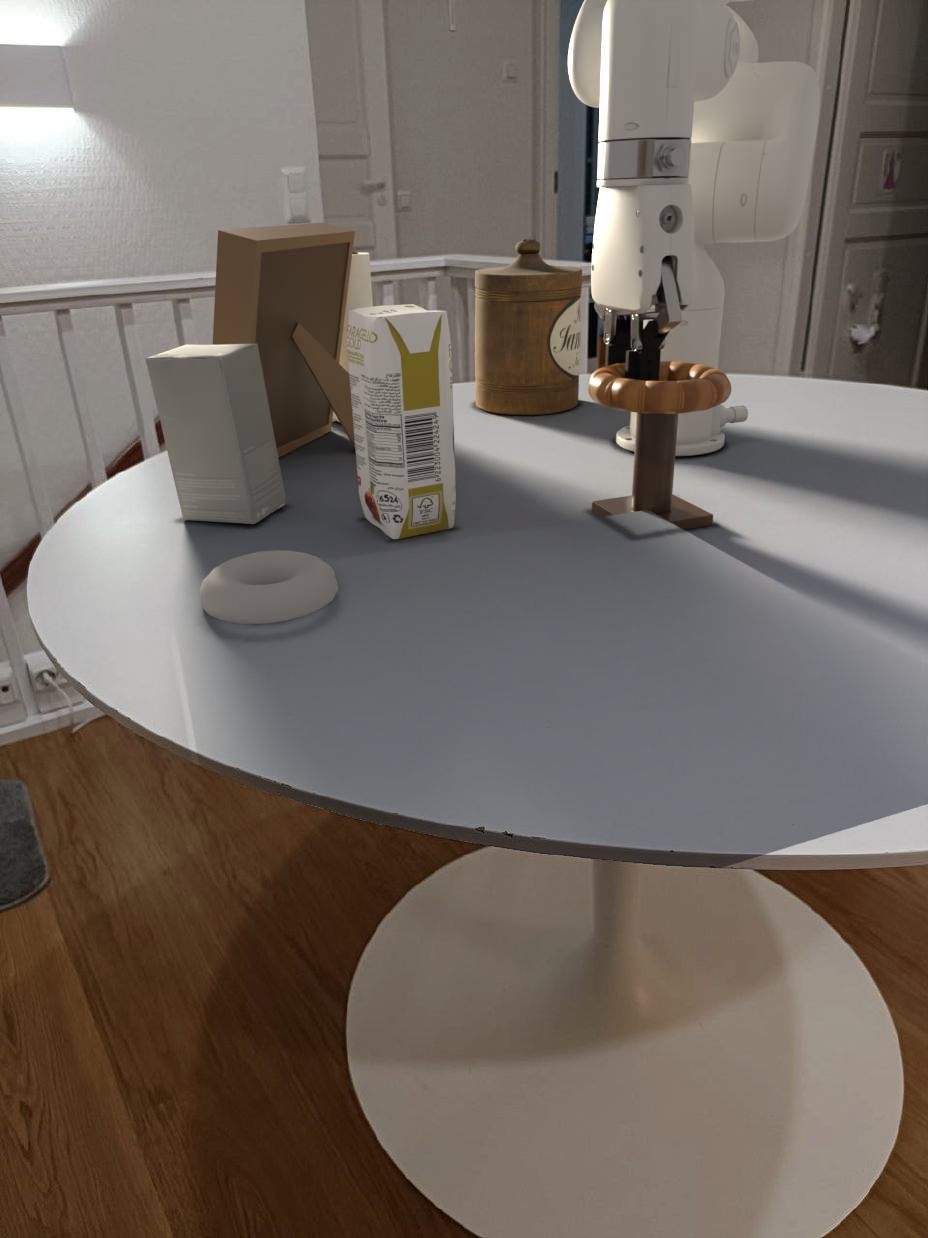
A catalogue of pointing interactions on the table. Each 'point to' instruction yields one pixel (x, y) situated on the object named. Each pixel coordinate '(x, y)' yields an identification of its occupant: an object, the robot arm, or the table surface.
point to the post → (655, 476)
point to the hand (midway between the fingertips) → (630, 389)
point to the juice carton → (403, 417)
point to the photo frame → (290, 320)
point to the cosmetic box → (218, 432)
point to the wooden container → (527, 335)
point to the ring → (661, 389)
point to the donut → (268, 587)
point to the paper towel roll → (356, 298)
